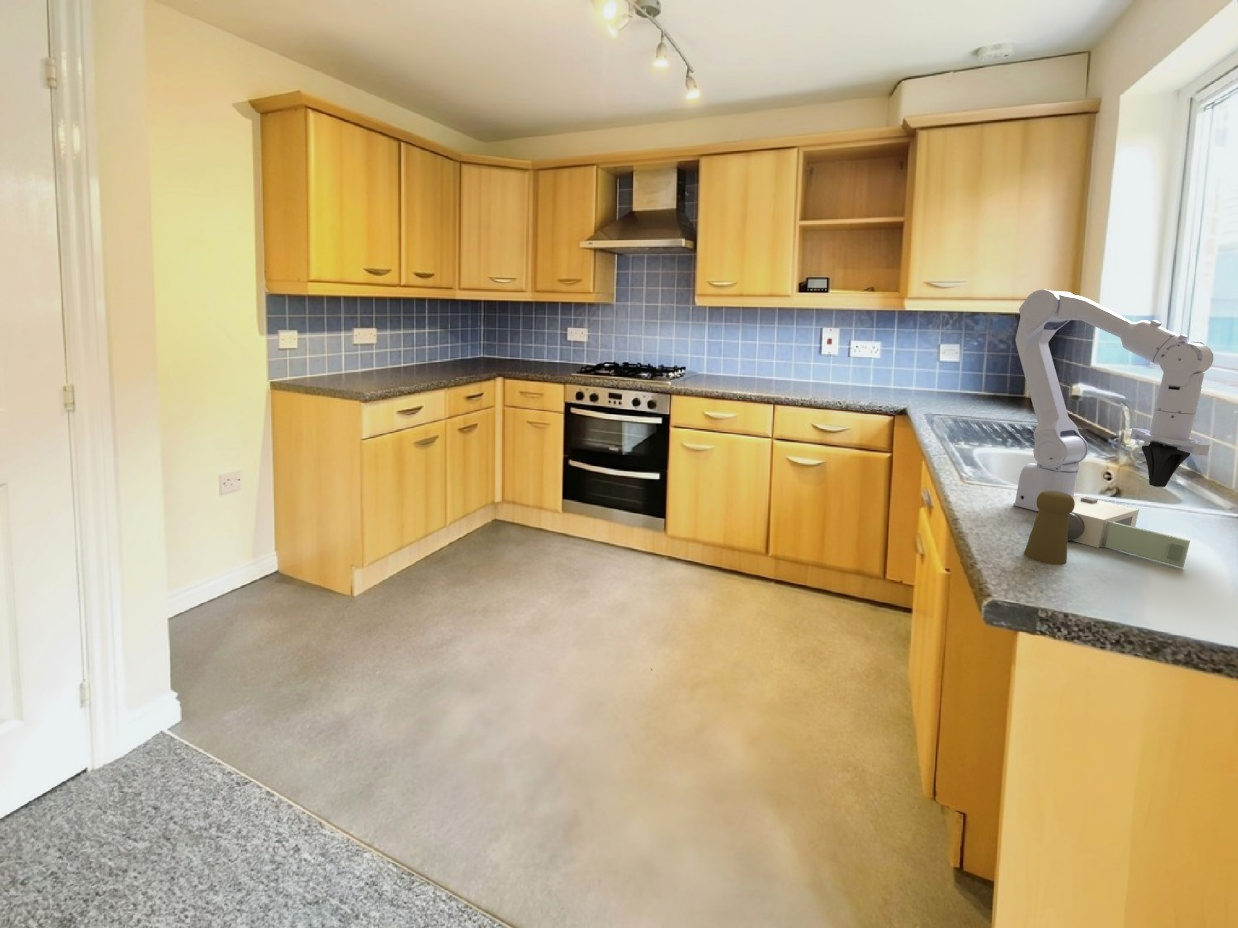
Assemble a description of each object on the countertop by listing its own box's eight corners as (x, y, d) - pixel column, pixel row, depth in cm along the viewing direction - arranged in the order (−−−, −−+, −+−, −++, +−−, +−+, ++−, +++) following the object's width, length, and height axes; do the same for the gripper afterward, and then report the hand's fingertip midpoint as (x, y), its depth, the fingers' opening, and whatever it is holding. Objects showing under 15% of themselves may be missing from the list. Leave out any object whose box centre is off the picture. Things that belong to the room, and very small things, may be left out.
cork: (1027, 548, 117) (1039, 485, 115) (1069, 557, 114) (1082, 492, 111) (1020, 557, 113) (1032, 492, 110) (1063, 567, 109) (1077, 499, 107)
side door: (1103, 545, 120) (1108, 520, 119) (1183, 566, 111) (1190, 540, 110) (1099, 546, 119) (1104, 521, 118) (1180, 568, 110) (1187, 541, 109)
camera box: (1033, 532, 126) (1038, 502, 125) (1074, 520, 135) (1079, 492, 134) (1093, 549, 118) (1100, 517, 117) (1133, 535, 127) (1139, 506, 126)
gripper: (1121, 404, 129) (1106, 475, 132) (1188, 417, 115) (1169, 496, 118) (1157, 405, 130) (1141, 476, 133) (1228, 419, 116) (1208, 497, 119)
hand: (1157, 485), depth 126 cm, fingers closed
